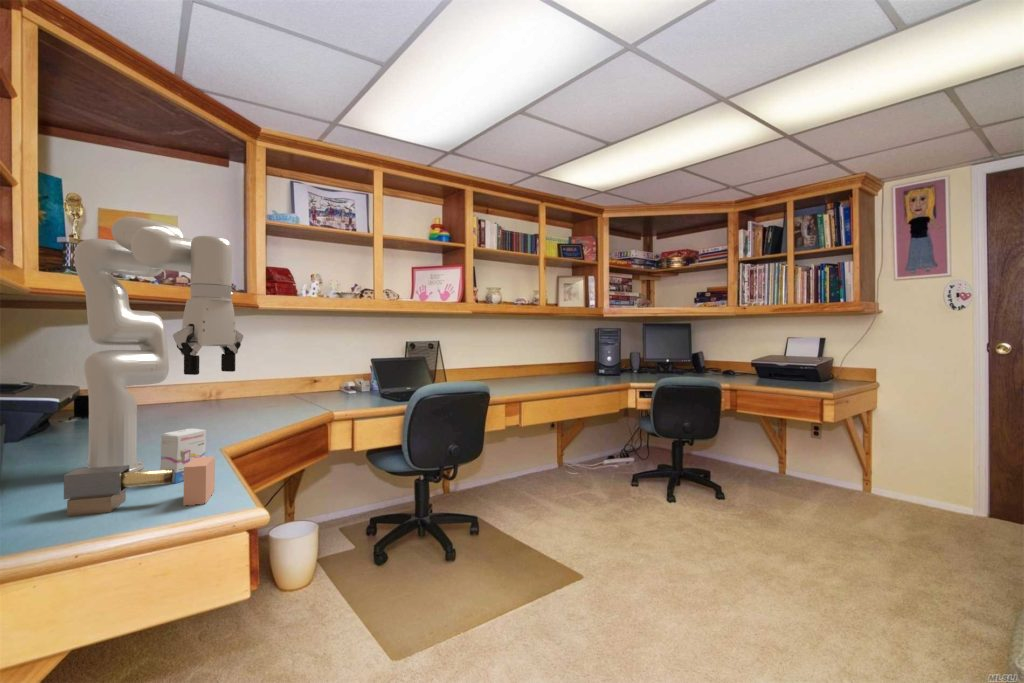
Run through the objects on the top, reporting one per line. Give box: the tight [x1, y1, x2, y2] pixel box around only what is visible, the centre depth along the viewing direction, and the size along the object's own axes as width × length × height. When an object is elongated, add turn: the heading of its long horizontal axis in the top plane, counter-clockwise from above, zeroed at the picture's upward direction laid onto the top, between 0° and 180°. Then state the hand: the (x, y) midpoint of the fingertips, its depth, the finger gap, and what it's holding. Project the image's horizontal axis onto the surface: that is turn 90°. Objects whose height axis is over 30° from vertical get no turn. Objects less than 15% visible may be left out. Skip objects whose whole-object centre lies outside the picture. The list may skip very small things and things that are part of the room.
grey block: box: [63, 465, 130, 517], centre depth 96 cm, size 9×7×8 cm
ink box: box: [159, 427, 207, 484], centre depth 117 cm, size 9×5×12 cm, turn 168°
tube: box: [121, 469, 175, 488], centre depth 98 cm, size 16×3×3 cm, turn 111°
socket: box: [183, 456, 216, 507], centre depth 103 cm, size 4×8×8 cm, turn 21°
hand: (210, 372), depth 101 cm, fingers open, 9 cm apart
